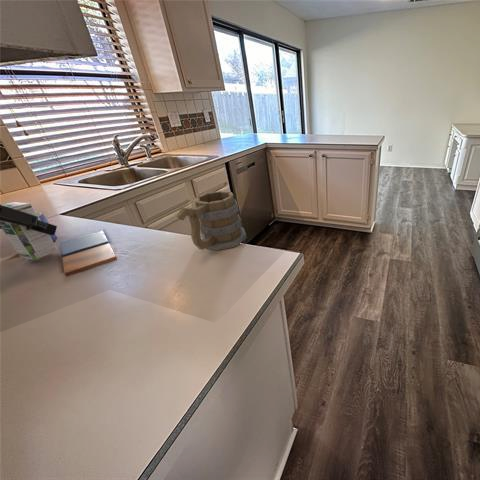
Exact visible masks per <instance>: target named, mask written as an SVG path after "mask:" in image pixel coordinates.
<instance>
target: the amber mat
mask: <svg viewBox="0 0 480 480" xmlns="http://www.w3.org/2000/svg"><path fill="white" fill-rule="evenodd" d="M61 259H62V265H63V274H64V276H65V277H69V276H72V275H75V274H78V273H80V272H84V271H88V270H90V269H93V268H96V267H98V266H101V265H104V264H108V263H111V262H113V261H117V260H118V258H117V256H116V254H115V251H114V250H113V248H112V246H111V244H110V243H109V244H105V245H102V246H99V247H95V248H92V249H89V250H85V251H82V252H79V253H76V254H72V255H69V256H66V257H63V256H62V257H61Z"/></svg>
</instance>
